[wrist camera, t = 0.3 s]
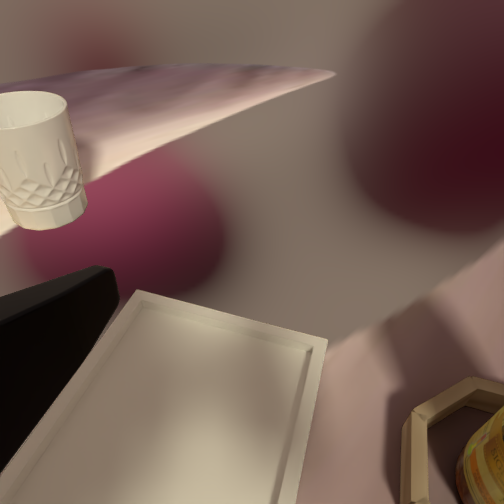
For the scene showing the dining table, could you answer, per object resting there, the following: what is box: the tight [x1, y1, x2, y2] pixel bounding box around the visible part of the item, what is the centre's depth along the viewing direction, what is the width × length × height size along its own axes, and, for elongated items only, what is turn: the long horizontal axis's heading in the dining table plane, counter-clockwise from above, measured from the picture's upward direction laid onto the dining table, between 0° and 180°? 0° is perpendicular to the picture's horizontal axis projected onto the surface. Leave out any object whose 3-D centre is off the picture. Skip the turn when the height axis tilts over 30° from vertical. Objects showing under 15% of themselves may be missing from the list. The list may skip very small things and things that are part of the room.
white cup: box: [0, 91, 88, 230], centre depth 35 cm, size 8×8×10 cm
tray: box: [0, 289, 328, 504], centre depth 22 cm, size 18×14×2 cm
